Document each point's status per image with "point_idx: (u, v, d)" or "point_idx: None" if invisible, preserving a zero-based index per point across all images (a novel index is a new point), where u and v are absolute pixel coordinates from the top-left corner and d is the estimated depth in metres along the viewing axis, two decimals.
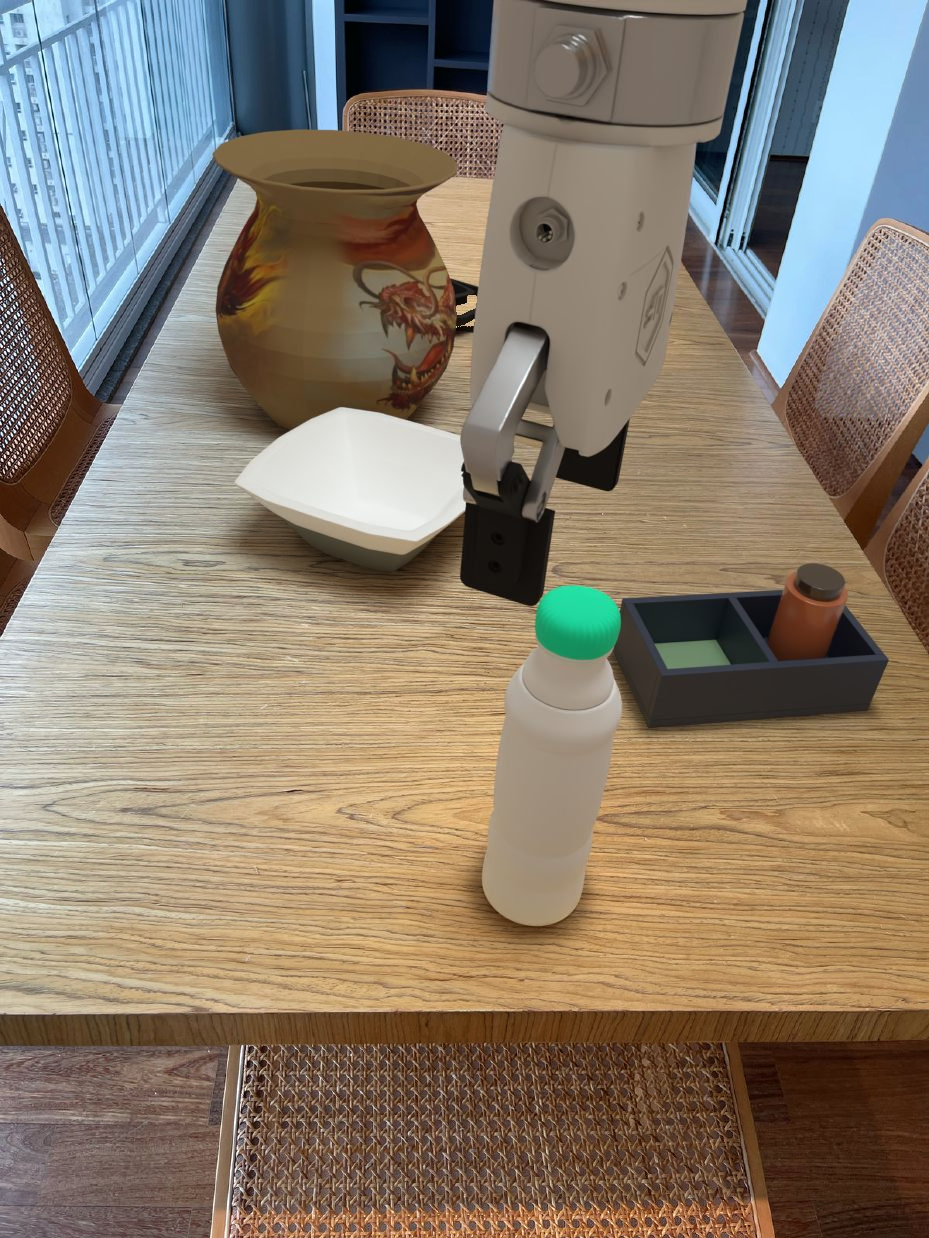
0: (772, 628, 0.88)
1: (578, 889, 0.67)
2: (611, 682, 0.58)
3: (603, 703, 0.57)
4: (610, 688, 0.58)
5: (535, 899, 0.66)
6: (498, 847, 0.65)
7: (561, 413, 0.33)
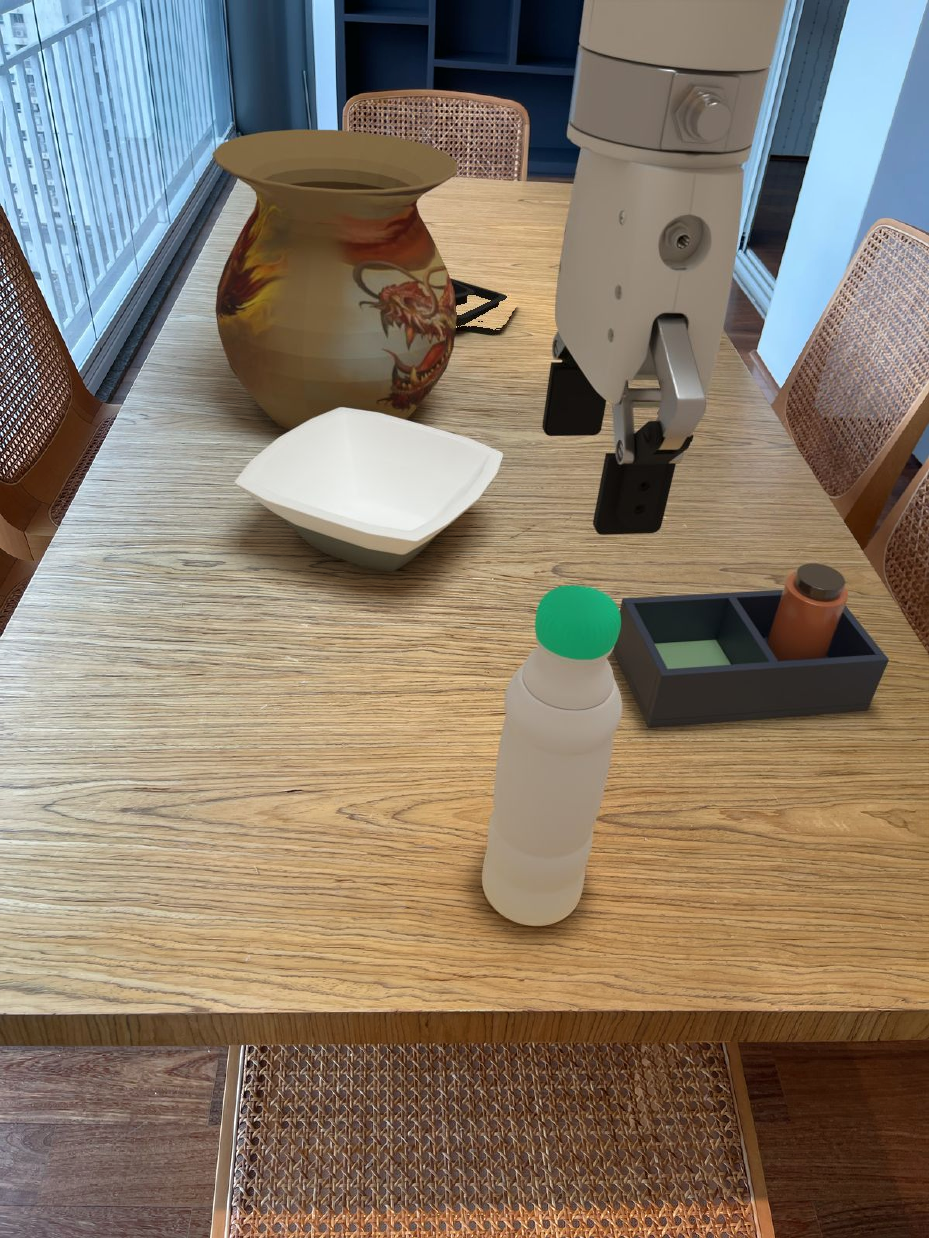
0: (772, 628, 0.88)
1: (578, 889, 0.67)
2: (611, 682, 0.58)
3: (603, 703, 0.57)
4: (610, 687, 0.58)
5: (535, 899, 0.66)
6: (498, 847, 0.65)
7: None
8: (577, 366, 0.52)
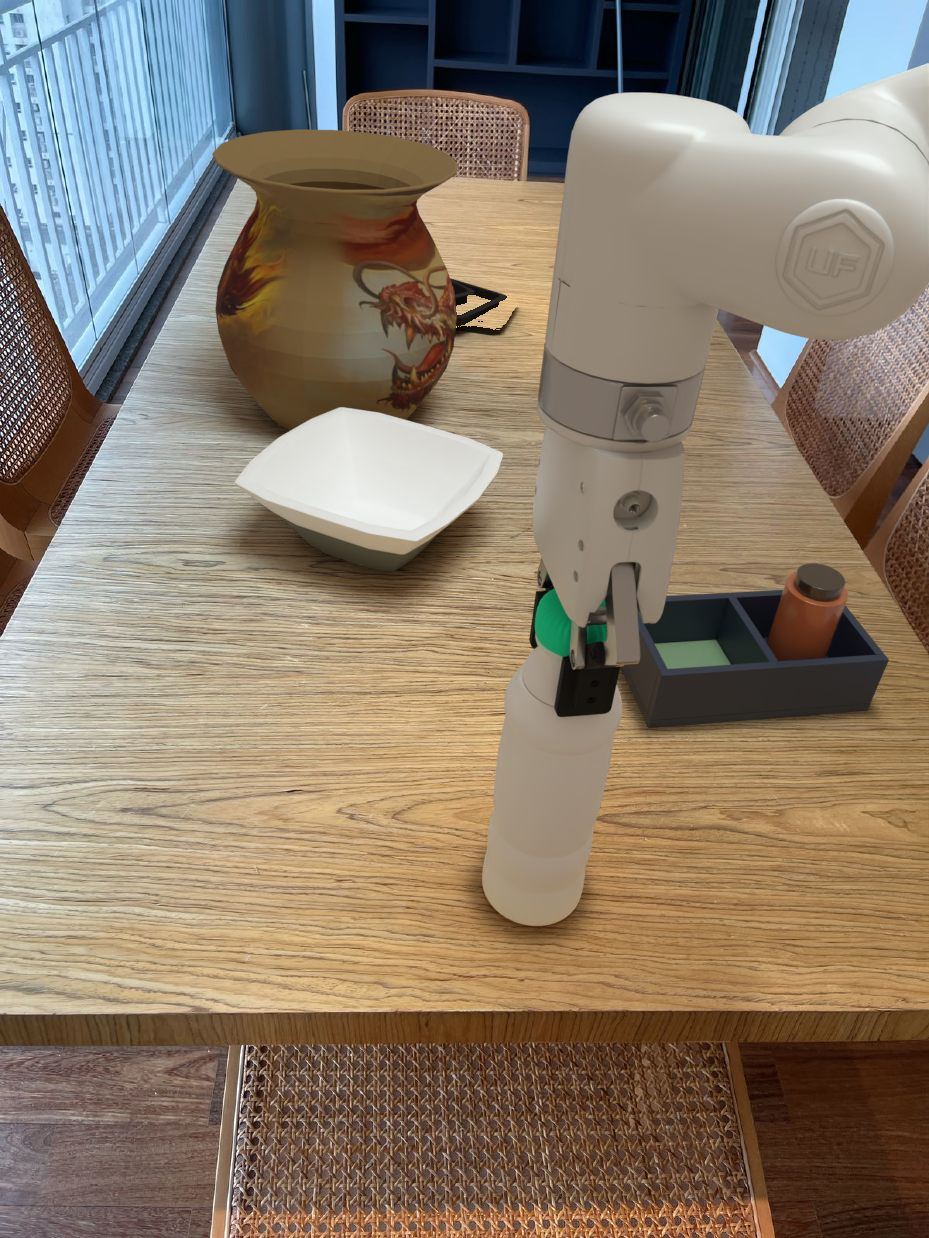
0: (772, 628, 0.88)
1: (578, 889, 0.67)
2: None
3: None
4: None
5: (535, 899, 0.66)
6: (498, 847, 0.65)
7: None
8: None
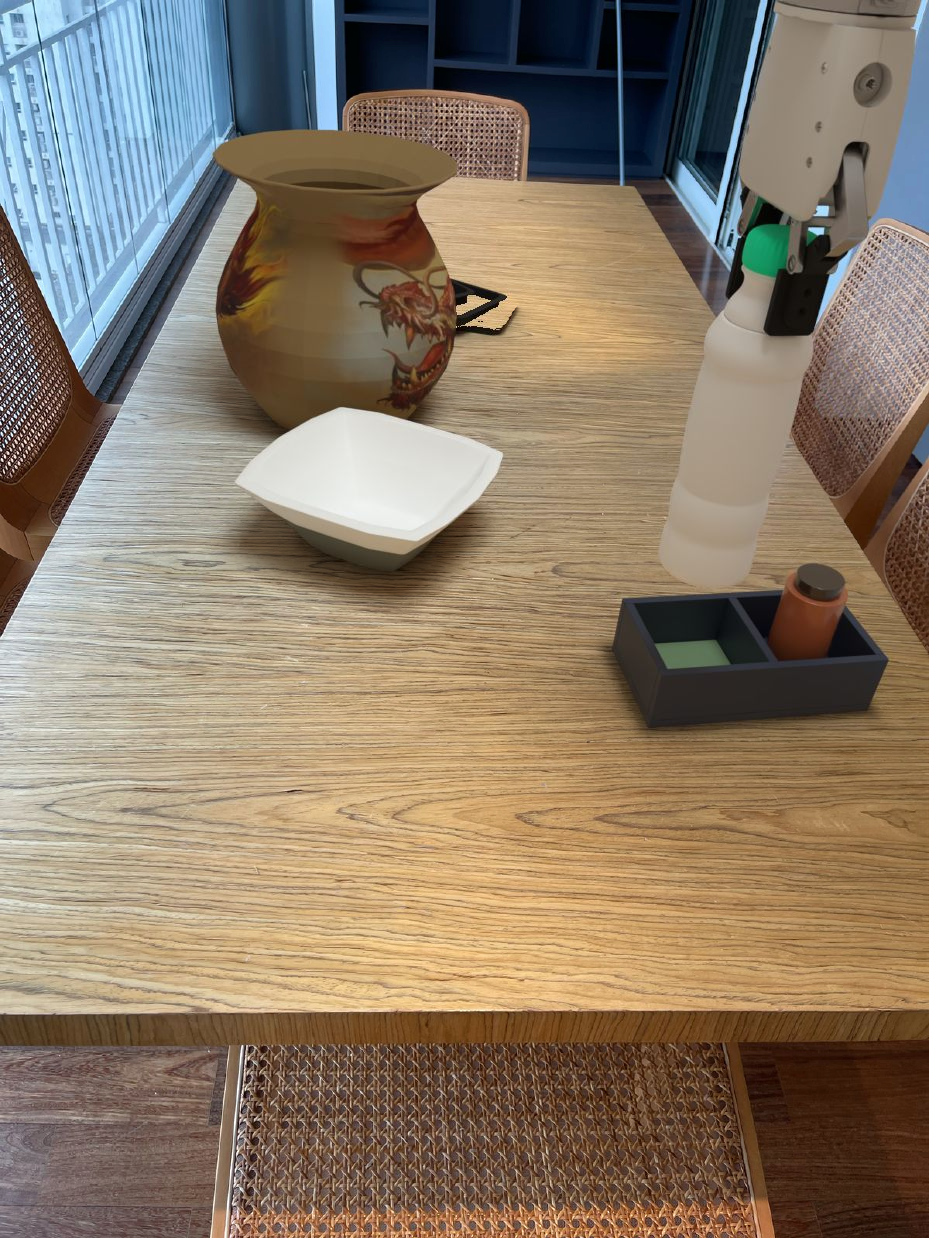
0: (772, 628, 0.88)
1: (753, 553, 0.74)
2: None
3: None
4: None
5: (718, 555, 0.72)
6: (686, 504, 0.71)
7: None
8: None
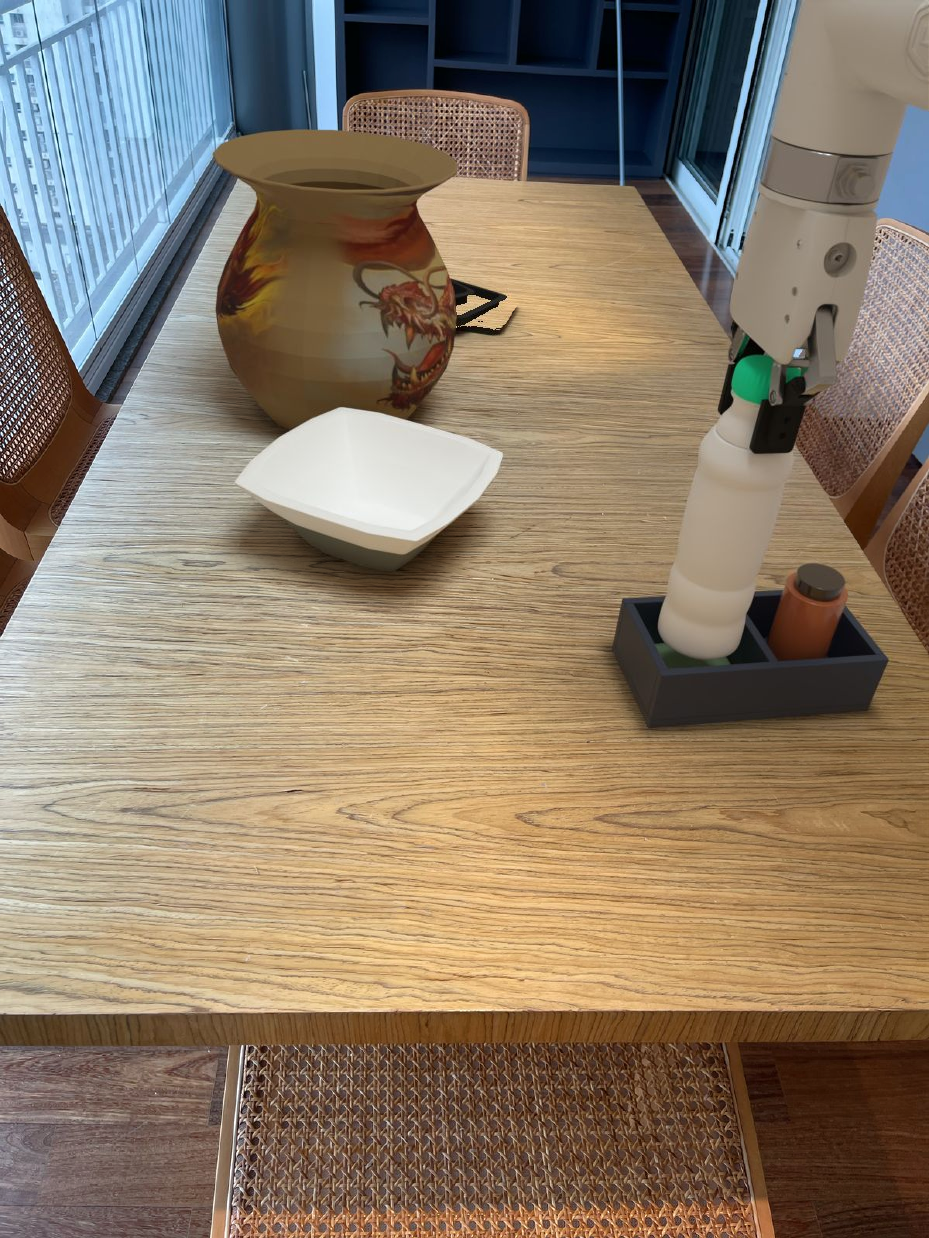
0: (772, 628, 0.88)
1: (741, 629, 0.83)
2: None
3: None
4: None
5: (710, 632, 0.82)
6: (682, 588, 0.81)
7: None
8: None
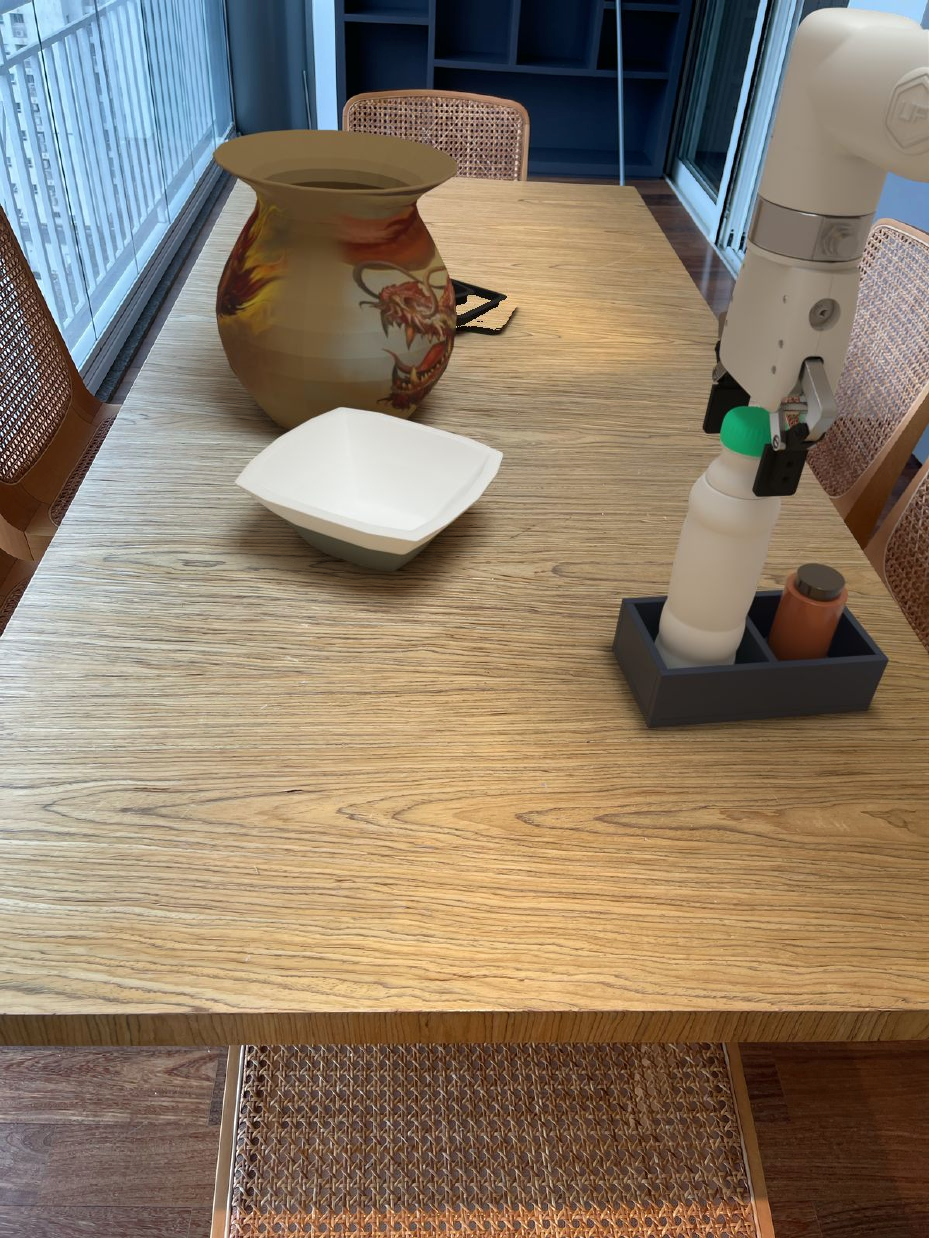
0: (772, 628, 0.88)
1: None
2: None
3: None
4: None
5: None
6: (673, 628, 0.83)
7: None
8: (730, 386, 0.77)
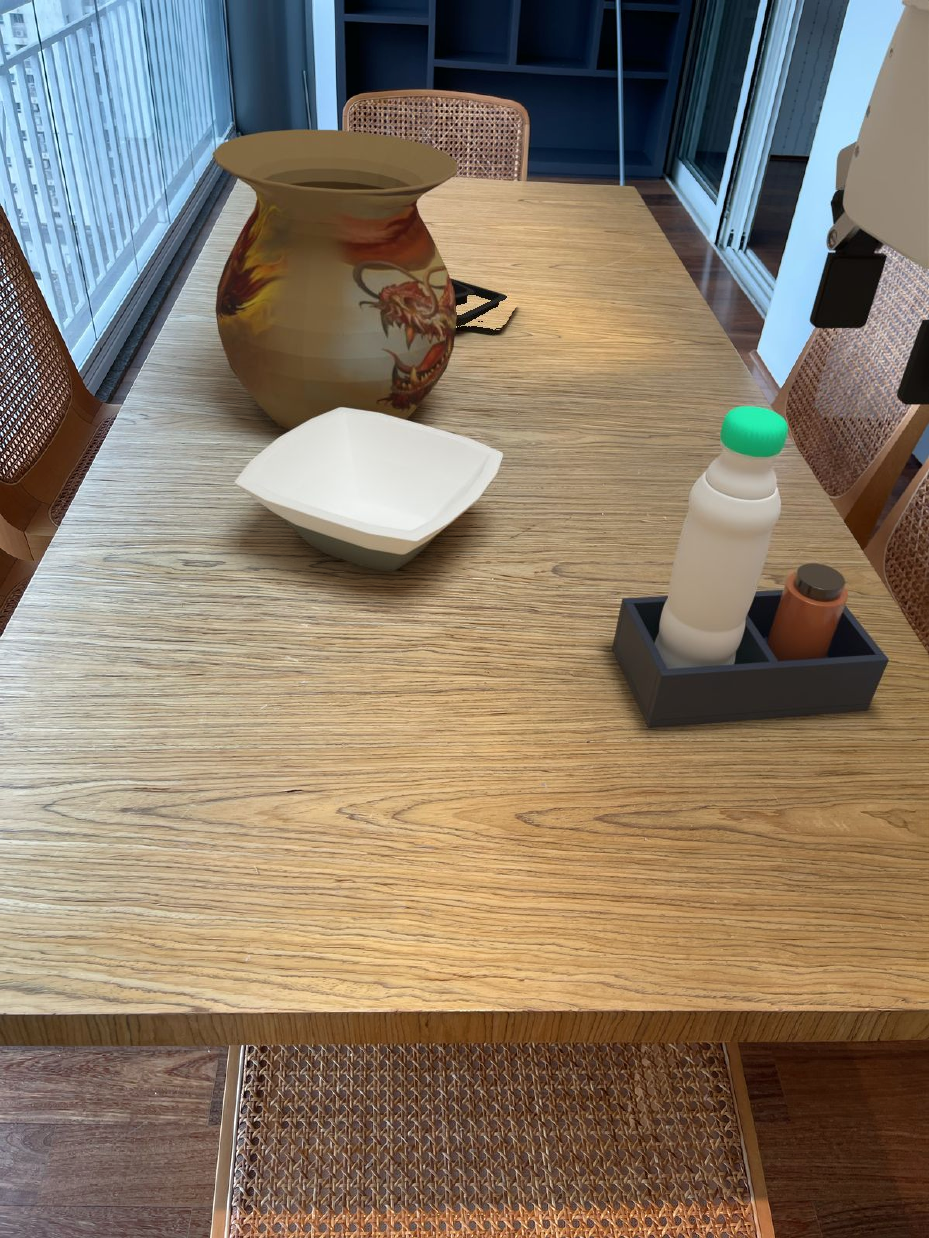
0: (772, 628, 0.88)
1: None
2: (776, 481, 0.76)
3: (771, 496, 0.76)
4: (775, 485, 0.76)
5: None
6: (673, 628, 0.83)
7: None
8: (854, 255, 0.53)
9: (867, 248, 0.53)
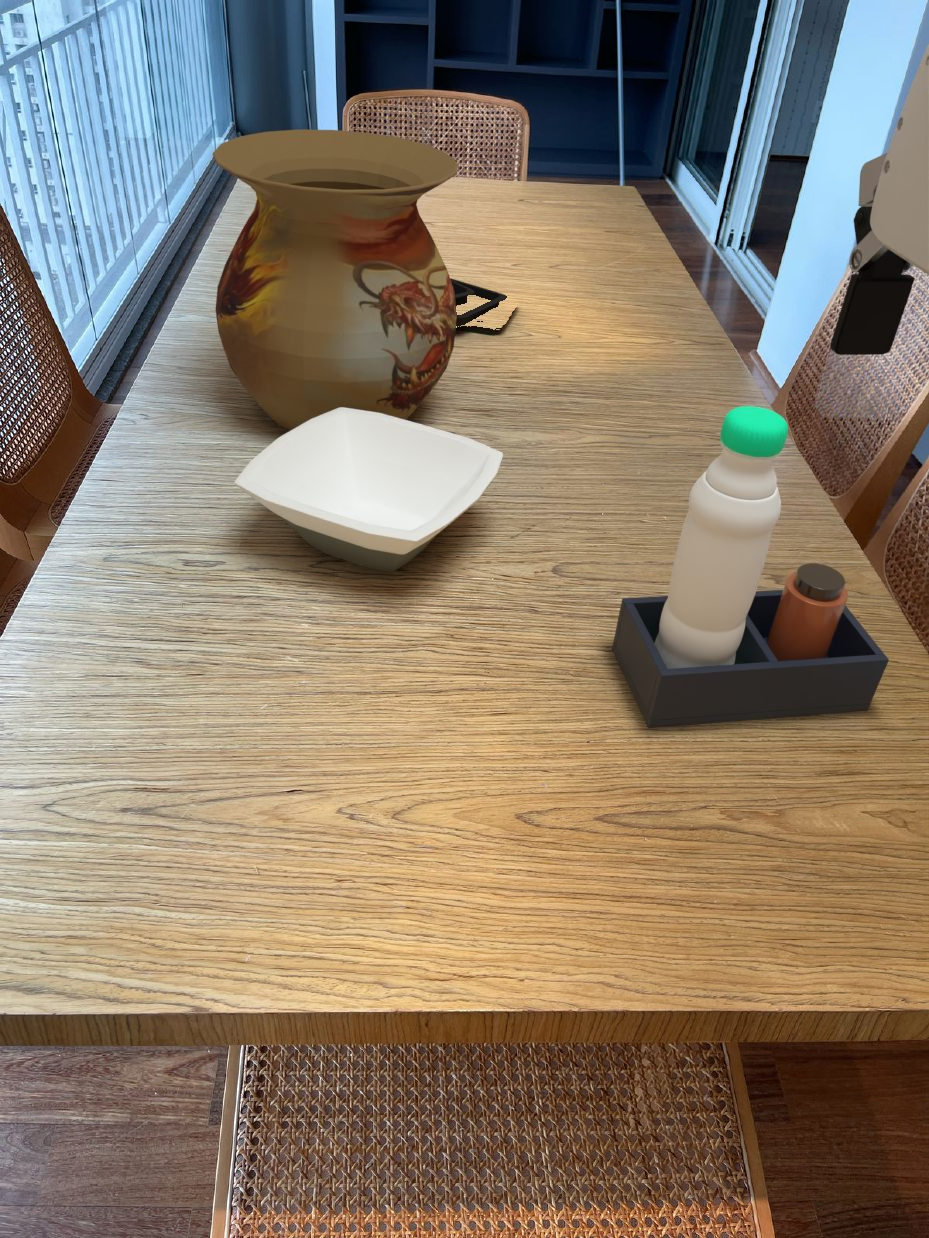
0: (772, 628, 0.88)
1: None
2: (776, 481, 0.76)
3: (771, 496, 0.76)
4: (776, 485, 0.76)
5: None
6: (673, 628, 0.83)
7: None
8: (880, 278, 0.50)
9: (894, 270, 0.49)
